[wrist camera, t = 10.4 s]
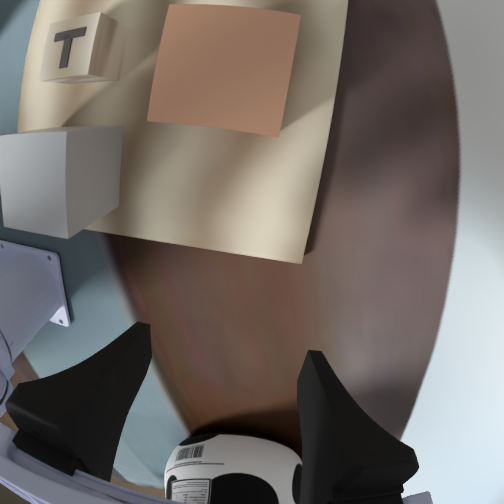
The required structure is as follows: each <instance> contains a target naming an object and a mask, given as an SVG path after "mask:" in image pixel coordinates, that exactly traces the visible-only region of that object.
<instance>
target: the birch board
mask: <svg viewBox="0 0 504 504" xmlns="http://www.w3.org/2000/svg"><path fill="white" fill-rule="evenodd" d="M170 4H211V5H229V6H242V7H251V8H260V9H267V10H274V11H281V12H287V13H292V14H298V15H301V19H300V25H299V30H298V36H297V41H296V47H295V53H294V58H293V64H292V69H291V75H290V80H289V86H288V91H287V97H286V102H285V108H284V113H283V118H282V124H281V129H280V135H279V138H277V137H272V136H266V135H260V134H254V133H248V132H242V131H235V130H228V129H221V128H213V127H205V126H196V125H186V124H175V123H163V122H149V121H147V117H148V110H149V103H150V96H151V90H152V84H153V78H154V72H155V67H156V62H157V56H158V52H159V47H160V42H161V38H162V33H163V29H164V25H165V20H166V16H167V12H168V8H169V5H170ZM347 7H348V0H41V1H40V4H39V7H38V10H37V14H36V17H35V21H34V25H33V28H32V32H31V37H30V41H29V46H28V50H27V55H26V61H25V66H24V72H23V79H22V86H21V94H20V103H19V114H18V129H17V133H18V132H24V131H31V130H38V129H46V128H54V127H69V126H124V127H123V138H122V151H121V168H120V193H119V206H118V207H117V208H115V209H113V210H112V211H110V212H109V213H107V214H106V215H104V216H102V217H101V218H99V219H98V220H96V221H95V222H93V223H92V224H90V225H89V226H87V227H85V228H84V229H86V230H92V231H98V232H105V233H111V234H117V235H123V236H129V237H135V238H142V239H148V240H154V241H160V242H166V243H173V244H179V245H185V246H191V247H198V248H204V249H210V250H216V251H223V252H229V253H235V254H242V255H248V256H254V257H261V258H267V259H274V260H280V261H286V262H293V263H299V264H302V259H303V255H304V251H305V247H306V242H307V238H308V233H309V229H310V225H311V220H312V215H313V211H314V206H315V201H316V197H317V192H318V187H319V182H320V177H321V172H322V167H323V162H324V157H325V152H326V146H327V141H328V135H329V130H330V124H331V119H332V113H333V107H334V101H335V95H336V88H337V82H338V75H339V69H340V62H341V55H342V48H343V40H344V32H345V24H346V16H347ZM98 12H102V13H104V14H106V15H107V16H109V17H111V18H113V19H114V20H116V21H118V22H120V23H121V24H123V25H125V26H126V27H128V28H129V30H128V34H127V39H126V44H125V49H124V54H123V60H122V65H121V71H120V78H119V81H107V82H93V83H82V84H65V83H54V82H41V81H39V77H40V70H41V64H42V59H43V54H44V49H45V44H46V39H47V35H48V31H49V27H50V24H51V23H55V22H58V21H62V20H66V19H70V18H74V17H78V16H83V15H88V14H93V13H98Z"/></svg>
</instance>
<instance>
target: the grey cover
mask: <svg viewBox="0 0 504 504" xmlns="http://www.w3.org/2000/svg"><path fill="white" fill-rule="evenodd" d="M123 127H124V126H69V127H54V128H46V129H38V130H31V131H24V132H18V133H12V134H6V135H1V136H0V191H1V204H2V214H3V222H4V227H8V228H13V229H18V230H23V231H28V232H33V233H38V234H43V235H48V236H54V237H59V238H64V239H69V238H71V237H72V236H74V235H75V234H77V233H78V232H80V231H81V230H82V229H84V228H85V227H87V226H89V225H90V224H92V223H93V222H95V221H96V220H98V219H99V218H101V217H102V216H104V215H106V214H107V213H109V212H110V211H112V210H113V209H115V208H117V207H118V206H119V193H120V168H121V151H122V138H123Z"/></svg>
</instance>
